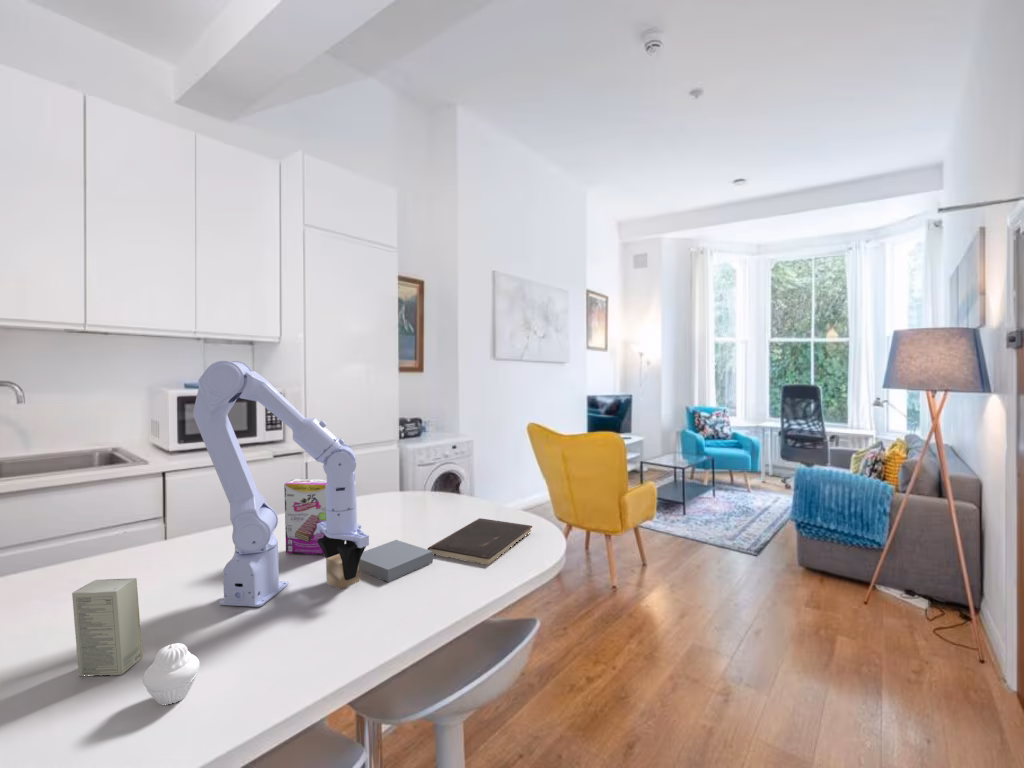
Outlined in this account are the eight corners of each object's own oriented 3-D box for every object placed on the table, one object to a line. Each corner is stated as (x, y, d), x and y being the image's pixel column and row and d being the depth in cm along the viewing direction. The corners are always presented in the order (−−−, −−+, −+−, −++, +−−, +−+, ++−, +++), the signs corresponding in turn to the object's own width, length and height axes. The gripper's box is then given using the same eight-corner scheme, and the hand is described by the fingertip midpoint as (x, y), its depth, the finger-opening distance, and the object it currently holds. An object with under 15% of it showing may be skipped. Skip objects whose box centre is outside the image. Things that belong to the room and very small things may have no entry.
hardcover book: (532, 534, 128) (532, 525, 127) (489, 568, 107) (489, 557, 107) (477, 526, 134) (477, 517, 134) (427, 556, 114) (427, 546, 114)
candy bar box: (284, 554, 114) (282, 483, 113) (296, 546, 119) (294, 478, 118) (331, 556, 113) (330, 484, 112) (341, 548, 118) (340, 478, 117)
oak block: (359, 581, 100) (358, 556, 100) (339, 589, 96) (339, 563, 96) (346, 575, 102) (345, 551, 102) (326, 583, 99) (326, 558, 99)
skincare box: (143, 658, 74) (140, 577, 74) (121, 676, 70) (117, 591, 69) (99, 659, 74) (96, 578, 73) (74, 678, 70) (70, 592, 69)
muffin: (211, 686, 68) (210, 635, 67) (170, 717, 62) (168, 662, 61) (175, 679, 69) (173, 629, 69) (131, 709, 63) (129, 655, 63)
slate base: (432, 562, 109) (432, 551, 109) (388, 582, 99) (388, 569, 99) (396, 550, 116) (396, 539, 116) (351, 567, 106) (351, 555, 106)
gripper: (381, 508, 98) (382, 577, 98) (337, 497, 106) (339, 560, 107) (350, 517, 92) (351, 590, 93) (306, 504, 101) (308, 571, 101)
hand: (342, 575), depth 99 cm, fingers closed on oak block, 4 cm apart
